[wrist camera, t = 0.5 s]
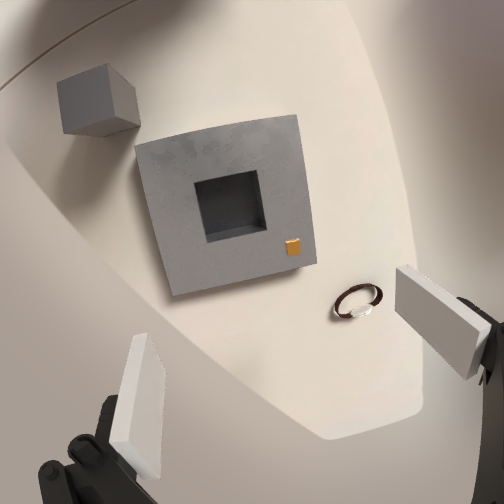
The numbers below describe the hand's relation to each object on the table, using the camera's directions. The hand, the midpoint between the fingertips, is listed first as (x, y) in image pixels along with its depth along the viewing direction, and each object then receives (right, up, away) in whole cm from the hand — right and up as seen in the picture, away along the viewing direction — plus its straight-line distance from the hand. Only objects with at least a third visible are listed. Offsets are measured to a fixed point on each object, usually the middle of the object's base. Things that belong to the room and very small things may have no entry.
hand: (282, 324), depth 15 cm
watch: (+14, -3, +31) cm, 34 cm away
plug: (-18, +20, +17) cm, 32 cm away
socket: (-4, +10, +23) cm, 25 cm away
